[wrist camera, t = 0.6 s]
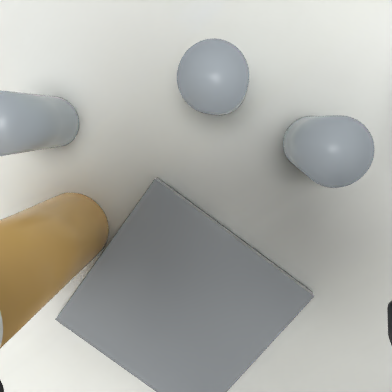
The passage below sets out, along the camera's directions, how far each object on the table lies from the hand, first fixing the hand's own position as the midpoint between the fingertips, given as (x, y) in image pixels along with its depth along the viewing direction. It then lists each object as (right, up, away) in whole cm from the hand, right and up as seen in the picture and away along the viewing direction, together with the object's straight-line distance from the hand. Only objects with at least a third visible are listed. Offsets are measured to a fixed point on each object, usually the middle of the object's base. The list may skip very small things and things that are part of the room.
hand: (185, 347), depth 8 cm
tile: (-1, -4, +16) cm, 16 cm away
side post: (+7, +6, +13) cm, 16 cm away
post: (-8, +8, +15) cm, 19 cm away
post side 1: (+2, +10, +13) cm, 16 cm away
